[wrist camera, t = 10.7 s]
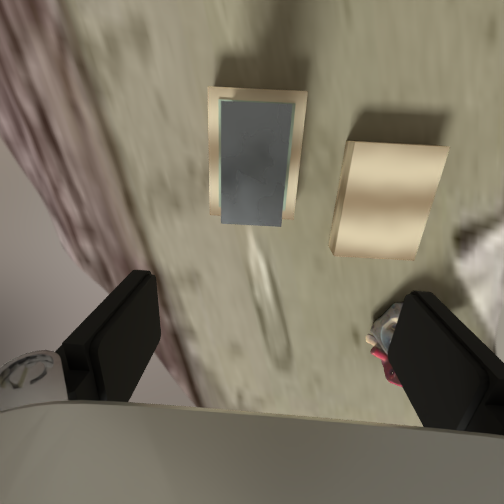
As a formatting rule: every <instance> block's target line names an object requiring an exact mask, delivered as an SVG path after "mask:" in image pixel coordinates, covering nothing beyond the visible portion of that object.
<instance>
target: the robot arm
mask: <svg viewBox="0 0 504 504" xmlns="http://www.w3.org/2000/svg"><path fill="white" fill-rule="evenodd" d="M160 337H161V328H160V317H159V306H158V294H157V283H156V277H155V275H152V274H151V272H150V271H144V270H133V271H132V272H131V273H130V274H129V275H128V276H127V277H126V278H125V279H124V280H123V281H122V282H121V283H120V284H119V285H118V286H117V287H116V288H115V289H114V290H113V291H112V292H111V293H110V294H109V295H108V296H107V297H106V299H105V300H104V301H103V302H102V303H101V304H100V305H99V306H98V307H97V308H96V309H95V310H94V311H93V312H92V313H91V314H90V315H89V316H88V317H87V318H86V319H85V320H84V321H83V322H82V323H81V324H80V325H79V327H77V328H76V329H75V330H74V331H73V333H72V334H71V335H70V336H69V337H68V338H67V339H66V340H65V341H64V342H63V343H62V345H61V346H60V347H59V348H58V350H56V352H54V351H48V350H41V351H33V352H30V353H26V354H24V355H21V356H18V357H16V358H14V359H12V360H11V361H9V362H7V363H6V364H4V365H3V366H2V367H1V368H0V504H504V363H503V362H502V361H501V360H500V359H499V358H498V357H497V356H496V355H495V354H494V353H493V352H492V351H491V350H490V349H489V348H488V347H487V346H486V345H485V344H484V343H483V342H482V341H481V340H480V339H479V338H478V337H477V336H476V335H475V334H474V333H473V332H472V331H470V330H469V329H468V328H467V327H466V326H465V325H464V324H463V323H462V322H461V321H460V320H459V319H458V318H457V317H456V316H455V315H454V314H453V313H452V312H451V311H450V310H449V309H448V308H447V307H446V306H445V305H444V304H443V303H442V302H441V301H440V300H439V299H438V298H437V297H436V296H435V295H434V294H433V293H431V292H422V291H412V292H411V293H410V294H408V295H406V297H405V299H404V302H403V305H402V308H401V311H400V314H399V318H398V321H397V324H396V327H395V330H394V333H393V336H392V339H391V342H390V345H389V348H388V353H387V355H388V360H389V362H390V364H391V366H392V368H393V370H394V372H395V374H396V375H397V377H398V379H399V381H400V383H401V385H402V387H403V389H404V391H405V392H406V394H407V396H408V398H409V400H410V402H411V404H412V406H413V407H414V409H415V411H416V413H417V415H418V417H419V419H420V421H421V423H422V424H423V426H424V427H417V426H406V425H396V424H385V423H374V422H363V421H352V420H341V419H329V418H318V417H307V416H295V415H283V414H272V413H260V412H248V411H236V410H224V409H211V408H199V407H186V406H174V405H161V404H146V403H133V402H128V401H129V399H130V398H131V396H132V393H133V391H134V390H135V388H136V386H137V384H138V382H139V380H140V378H141V376H142V374H143V372H144V370H145V368H146V366H147V365H148V363H149V360H150V359H151V356H152V355H153V353H154V351H155V349H156V347H157V345H158V343H159V341H160Z"/></svg>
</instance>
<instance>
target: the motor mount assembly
mask: <svg viewBox="0 0 504 504" xmlns="http://www.w3.org/2000/svg"><path fill="white" fill-rule="evenodd" d="M402 305H403V303H394V304H393V305H392V306H391V307H390V308H389V309H388V310H387V311H386V312H385V313H384V314H383V316H382V317H380V318H378V319H377V320H376V321H375V322H374V324H373V326H372V328H371V333H372V334H373V335H374V336H372V335H370V334H368V335H367V336H366V341H367V343H370V344H372V345H374V347H373V348H372V349H371V354H373V355H374V356H376V357H378V358H380V359H381V360H382V365H383V367H384V372H385V376H386V379H387V380H388V381H389V382H390V383H393V384H395V385H398V386H401V387H402V385H401V383H400V381H399V379H398V377H397V375H396V374H395V372H394V370H393V368H392V366H391V364H390V362H389V360H388V355H387V353H388V348H389V345H390V342H391V339H392V336H393V333H394V330H395V327H396V324H397V321H398V318H399V314H400V311H401V308H402ZM392 372H393V374H392Z"/></svg>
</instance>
